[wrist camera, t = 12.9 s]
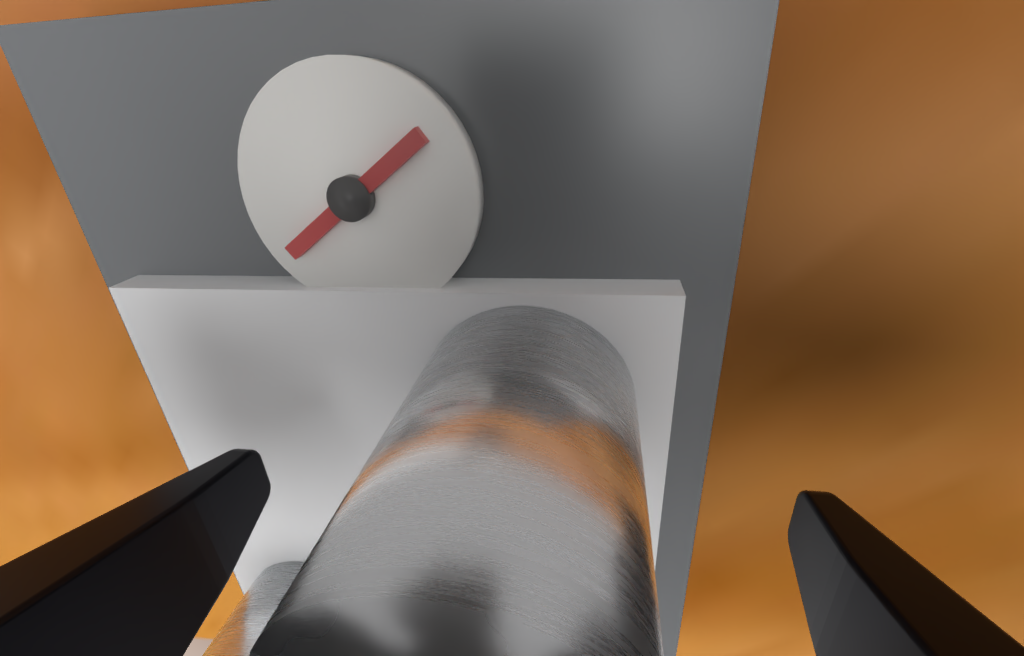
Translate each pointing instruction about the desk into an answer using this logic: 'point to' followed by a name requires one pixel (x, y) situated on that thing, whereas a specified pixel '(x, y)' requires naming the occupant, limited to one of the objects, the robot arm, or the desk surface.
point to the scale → (406, 214)
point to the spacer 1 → (254, 611)
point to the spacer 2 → (491, 510)
